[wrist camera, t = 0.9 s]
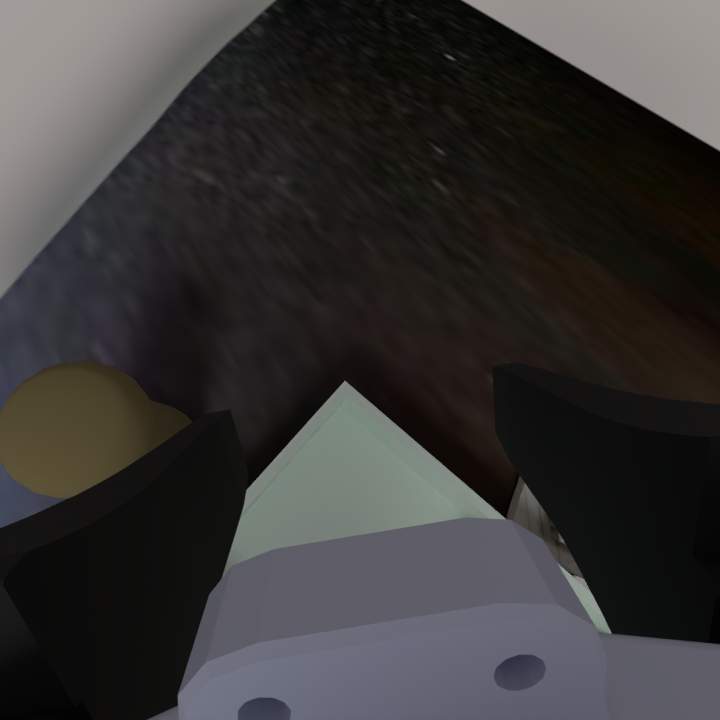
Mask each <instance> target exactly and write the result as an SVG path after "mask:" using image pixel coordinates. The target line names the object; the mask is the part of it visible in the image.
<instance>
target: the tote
mask: <svg viewBox="0 0 720 720" xmlns="http://www.w3.org/2000/svg"><path fill="white" fill-rule="evenodd" d="M466 517H468V518H488V519H505V518H504V517H503V516H502V515H501V514H500V513H498V512H497V511H496V510H495V509H494V508H493V507H491V506H490V505H489V504H488V503H487V502H486V501H484V500H483V499H482V498H481V497H480V496H479V495H477V494H476V493H475V492H474V491H473V490H472V489H470V488H469V487H468V486H467V485H466V484H465V483H463V482H462V481H461V480H460V479H459V478H458V477H456V476H455V475H454V474H453V473H452V472H451V471H449V470H448V469H447V468H446V467H445V466H444V465H442V464H441V463H440V462H439V461H438V460H437V459H436V458H434V457H433V456H432V455H431V454H430V453H429V452H427V451H426V450H425V449H424V448H423V447H422V446H420V445H419V444H418V443H417V442H416V441H415V440H413V439H412V438H411V437H410V436H409V435H408V434H406V433H405V432H404V431H403V430H402V429H401V428H399V427H398V426H397V425H396V424H395V423H394V422H392V421H391V420H390V419H389V418H388V417H387V416H385V415H384V414H383V413H382V412H381V411H380V410H378V409H377V408H376V407H375V406H374V405H373V404H371V403H370V402H369V401H368V400H367V399H366V398H364V397H363V396H362V395H361V394H360V393H359V392H357V391H356V390H355V389H354V388H353V387H352V386H351V385H349V384H348V383H347V382H346V381H344V382H343V383H342V385H341V386H340V387H339V388H338V389H337V390H336V391H335V392H334V393H333V395H332V396H331V397H330V398H329V399H328V400H327V401H326V402H325V403H324V405H323V406H322V407H321V408H320V409H319V410H318V411H317V412H316V413H315V415H314V416H313V417H312V418H311V419H310V420H309V421H308V422H307V424H306V425H305V426H304V427H303V428H302V429H301V430H300V431H299V432H298V434H297V435H296V436H295V437H294V438H293V439H292V440H291V441H290V442H289V444H288V445H287V446H286V447H285V448H284V449H283V450H282V451H281V452H280V454H279V455H278V456H277V457H276V458H275V459H274V460H273V461H272V462H271V464H270V465H269V466H268V467H267V468H266V469H265V470H264V471H263V472H262V474H261V475H260V476H259V477H258V478H257V479H256V480H255V481H254V482H253V484H252V485H251V486H250V487H249V488H248V489H247V490H246V496H245V502H244V507H243V510H242V514H241V517H240V521H239V524H238V527H237V531H236V534H235V537H234V540H233V544H232V547H231V550H230V553H229V556H228V560H227V563H226V566H225V569H224V573H223V576H222V578H223V577H224V575H225V574H226V573H227V572H228V570H229V569H230V568H231V567H232V565H235V564H237V563H240V562H242V561H245V560H247V559H250V558H252V557H255V556H258V555H260V554H263V553H265V552H268V551H270V550H273V549H278V548H284V547H290V546H296V545H302V544H308V543H314V542H320V541H326V540H332V539H338V538H344V537H350V536H357V535H363V534H369V533H375V532H381V531H387V530H393V529H399V528H405V527H411V526H417V525H423V524H429V523H435V522H441V521H447V520H454V519H460V518H466ZM557 564H558V563H557ZM558 565H559V564H558ZM559 567H560V569H561V570H562V572H563V574H564V575H565V577H566V578H567V580H568V582H569V583H570V585H571V587H572V588H573V590H574V592H575V593H576V595H577V597H578V598H579V600H580V601H581V603H582V605H583V606H584V608H585V610H586V611H587V613H588V615H589V616H590V618H591V620H592V621H593V623H594V624H595V626H596V628H597V631H598V632H599V633H609V634H612V633H611V631H610V629H609V627H608V625H607V623H606V621H605V619H604V616H603V614H602V612H601V610H600V608H599V607H598V605H597V603H596V601H595V599H594V597H593V595H592V593H591V592H590V591H589V590H588V589H587V588H586V587H584V586H583V585H582V584H581V583H580V582H579V581H577V580H576V579H575V578H574V577H573V576H572V575H571V574H569V573H568V572H567V571H566V570H565V569H564V568H562V567H561V566H560V565H559Z"/></svg>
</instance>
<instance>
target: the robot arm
mask: <svg viewBox="0 0 720 720" xmlns="http://www.w3.org/2000/svg"><path fill="white" fill-rule="evenodd" d="M492 368H493V388H494V407H495V427H496V434H497V436H498V438H499V440H500V442H501V444H502V446H503V449H504V451H505V452H506V454H507V456H508V458H509V460H510V462H511V463H512V465H513V466H514V468H515V469H516V471H517V472H518V474H519V475H520V477H521V478H522V480H523V481H524V483H525V484H526V485H527V487H528V488H529V490H530V491H531V493H532V494H533V495H534V497H535V498H536V500H537V501H538V503H539V504H540V505H541V507H542V508H543V510H544V511H545V513H546V514H547V516H548V517H549V518H550V520H551V521H552V523H553V524H554V526H555V527H556V529H557V531H558V532H559V534H560V535H561V537H562V539H563V540H564V542H565V544H566V546H567V548H568V549H569V551H570V553H571V555H572V557H573V559H574V561H575V562H576V564H577V566H578V568H579V570H580V572H581V573H582V575H583V577H584V579H585V581H586V583H587V585H588V587H589V589H590V591H591V593H592V595H593V597H594V599H595V601H596V603H597V605H598V607H599V608H600V610H601V612H602V614H603V616H604V619H605V621H606V623H607V625H608V627H609V629H610V631H611V633H612V634H609V633H599V632H598V631H597V628H596V626H595V624H594V623H593V621H592V620H591V618H590V616H589V615H588V613H587V611H586V610H585V608H584V606H583V605H582V603H581V601H580V600H579V598H578V597H577V595H576V593H575V592H574V590H573V588H572V587H571V585H570V583H569V582H568V580H567V578H566V577H565V575H564V574H563V572H562V570H561V569H560V567H559V565H558V564H557V562H556V560H555V559H554V557H553V555H552V554H551V552H550V551H549V549H548V547H547V546H546V544H545V542H544V541H543V539H541V538H539V537H538V536H536V535H535V534H533V533H531V532H530V531H528V530H527V529H525V528H523V527H522V526H520V525H518V524H517V523H515V522H514V521H512V520H508V519H488V518H468V517H466V518H460V519H454V520H447V521H441V522H435V523H429V524H423V525H417V526H411V527H405V528H399V529H393V530H387V531H381V532H375V533H369V534H363V535H357V536H350V537H344V538H338V539H332V540H326V541H320V542H314V543H308V544H302V545H296V546H290V547H284V548H278V549H273V550H270V551H268V552H265V553H263V554H260V555H258V556H255V557H252V558H250V559H247V560H245V561H242V562H240V563H237V564H235V565H232V567H231V568H230V569H229V570H228V572H227V573H226V574H225V575H224V577H223V578H222V576H223V573H224V569H225V566H226V563H227V560H228V556H229V553H230V550H231V547H232V544H233V540H234V537H235V534H236V531H237V527H238V524H239V521H240V517H241V514H242V510H243V507H244V502H245V496H246V490H247V482H248V474H249V472H248V469H247V466H246V462H245V459H244V455H243V452H242V448H241V445H240V442H239V438H238V435H237V431H236V428H235V425H234V421H233V418H232V414H231V411H230V410H226V411H220V412H214V413H208V414H206V415H204V416H202V417H200V418H198V419H197V420H195V421H194V422H192V423H191V424H189V425H188V426H186V427H185V428H183V429H182V430H180V431H179V432H177V433H176V434H175V435H173V436H172V437H170V438H169V439H167V440H166V441H165V442H163V443H162V444H160V445H159V446H157V447H156V448H155V449H153V450H152V451H150V452H148V453H147V454H145V455H144V456H142V457H141V458H139V459H138V460H136V461H135V462H133V463H132V464H130V465H129V466H127V467H125V468H124V469H122V470H121V471H119V472H117V473H116V474H114V475H112V476H110V477H109V478H107V479H105V480H103V481H102V482H100V483H98V484H96V485H94V486H92V487H90V488H89V489H87V490H85V491H83V492H81V493H79V494H77V495H75V496H73V497H71V498H69V499H66V500H64V501H62V502H60V503H58V504H56V505H54V506H51V507H49V508H47V509H45V510H43V511H41V512H39V513H36V514H34V515H32V516H30V517H27V518H25V519H22V520H20V521H17V522H15V523H12V524H10V525H8V526H5V527H2V528H0V720H720V404H710V403H700V402H690V401H680V400H672V399H665V398H658V397H652V396H646V395H641V394H635V393H629V392H625V391H620V390H615V389H611V388H607V387H603V386H599V385H595V384H591V383H587V382H584V381H580V380H577V379H573V378H570V377H567V376H563V375H560V374H557V373H553V372H550V371H547V370H544V369H540V368H537V367H533V366H530V365H526V364H521V363H510V364H504V365H498V366H492Z"/></svg>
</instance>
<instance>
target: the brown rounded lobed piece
mask: <svg viewBox="0 0 720 720" xmlns="http://www.w3.org/2000/svg"><path fill="white" fill-rule="evenodd" d="M191 423H192V421H191V420H190V418H189V417H188V416H187V415H185V414H184V413H182V412H181V411H179V410H177V409H176V408H174V407H171V406H168V405H164V404H161V403H158V402H155V401H152V400H149V398H148V396H147V394H146V393H145V392H144V391H143V389H142V388H141V387H140V386H139V385H138V383H137V382H136V381H135V380H134V379H133V378H132V377H130V376H128V375H127V374H125V373H124V372H122V371H120V370H119V369H117V368H115V367H112V366H108V365H104V364H100V363H96V362H90V361H77V362H64V363H61V364H58V365H55V366H51V367H48V368H45V369H43V370H41V371H39V372H38V373H36V374H35V375H33V376H31V377H30V378H28V379H27V380H25V381H23V382H22V383H21V384H20V385H19V386H18V388H17V389H16V390H15V391H14V392H13V393H12V394H11V395H10V396H9V397H8V398H7V400H6V402H5V404H4V406H3V408H2V410H1V412H0V463H1V464H2V465H3V467H4V468H5V470H6V471H7V472H8V474H9V475H10V476H11V478H13V479H14V480H15V481H17V482H19V483H20V484H22V485H23V486H25V487H27V488H28V489H30V490H31V491H33V492H35V493H37V494H42V495H47V496H51V497H56V498H71V497H73V496H75V495H77V494H79V493H81V492H83V491H85V490H87V489H89V488H90V487H92V486H94V485H96V484H98V483H100V482H102V481H103V480H105V479H107V478H109V477H110V476H112V475H114V474H116V473H117V472H119V471H121V470H122V469H124V468H125V467H127V466H129V465H130V464H132V463H133V462H135V461H136V460H138V459H139V458H141V457H142V456H144V455H145V454H147V453H148V452H150V451H152V450H153V449H155V448H156V447H157V446H159V445H160V444H162V443H163V442H165V441H166V440H167V439H169V438H170V437H172V436H173V435H175V434H176V433H177V432H179V431H180V430H182V429H183V428H185V427H186V426H188V425H189V424H191Z"/></svg>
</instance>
